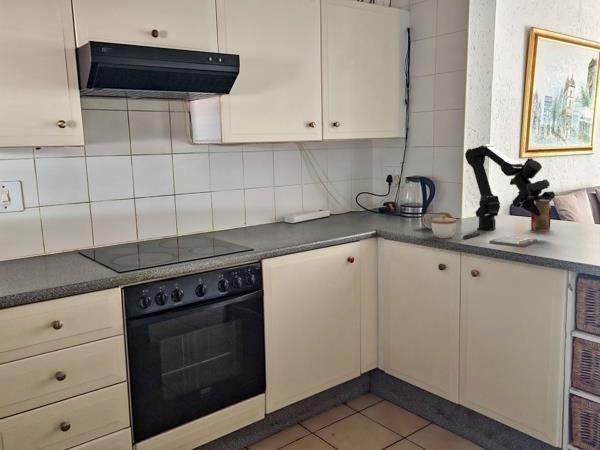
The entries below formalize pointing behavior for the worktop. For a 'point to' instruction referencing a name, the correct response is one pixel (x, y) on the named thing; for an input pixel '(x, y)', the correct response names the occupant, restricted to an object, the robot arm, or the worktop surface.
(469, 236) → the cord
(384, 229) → the worktop surface
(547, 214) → the mill
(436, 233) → the lidded jar
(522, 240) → the set of cream blocks
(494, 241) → the panel
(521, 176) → the robot arm
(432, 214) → the tan curved piece
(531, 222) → the canned food
